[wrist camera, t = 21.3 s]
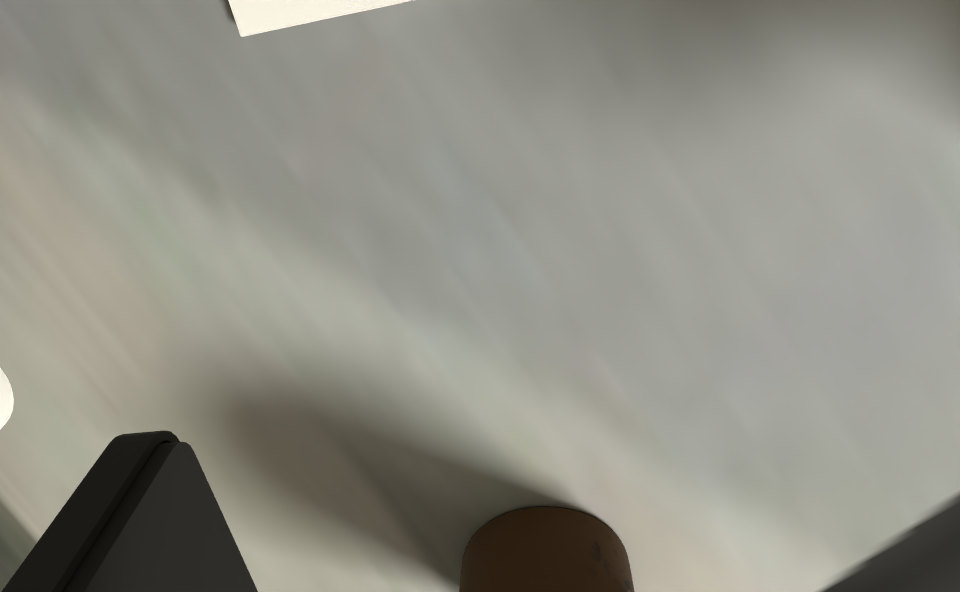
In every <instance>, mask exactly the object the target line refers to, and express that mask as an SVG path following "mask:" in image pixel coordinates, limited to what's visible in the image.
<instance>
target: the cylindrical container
mask: <svg viewBox="0 0 960 592" xmlns="http://www.w3.org/2000/svg"><path fill="white" fill-rule="evenodd" d="M13 403H14V398H13V392H12V388H11V385H10V383H9V381H8V378H7V377H6V375H5V373H4V372H3V370H2V369H1V367H0V429H1V428H2V427H3V426H4V425H5V423H6V422H7V421H8V420H9V418H10V416H11V413H12V411H13Z"/></svg>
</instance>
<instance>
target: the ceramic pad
mask: <svg viewBox="0 0 960 592" xmlns="http://www.w3.org/2000/svg"><path fill="white" fill-rule="evenodd" d="M228 1H229V4H230V7H231V9H232V12H233V15H234V18H235V21H236V24H237V27H238V29H239V32H240V35H241V37H243V36H248V35H253V34H257V33H262V32H267V31H271V30H276V29H281V28H286V27H290V26H295V25H300V24H304V23H309V22H314V21H318V20H323V19H328V18H333V17H337V16H342V15H347V14H351V13H356V12H361V11H365V10H370V9H375V8H379V7H384V6H389V5H394V4H398V3H403V2H408V1H412V0H228Z"/></svg>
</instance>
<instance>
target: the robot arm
mask: <svg viewBox="0 0 960 592" xmlns="http://www.w3.org/2000/svg"><path fill="white" fill-rule="evenodd" d="M2 592H258V591H257V589H256V587H255V584H254V582H253V580H252V578H251V576H250V573H249V571H248V569H247V567H246V565H245V562H244V560H243V558H242V556H241V554H240V551H239V549H238V547H237V545H236V543H235V540H234V538H233V536H232V534H231V532H230V529H229V527H228V525H227V523H226V521H225V518H224V516H223V514H222V512H221V510H220V508H219V505H218V503H217V501H216V499H215V497H214V494H213V492H212V490H211V488H210V486H209V483H208V481H207V479H206V477H205V475H204V472H203V470H202V468H201V466H200V464H199V461H198V459H197V457H196V455H195V453H194V451H193V449H192V447H191V446H190V445H189V444H188V443H186V442H180V441H179V439H178V438H177V436H176V435H174V434H173V433H172V432H169V431H155V432H143V433H132V434H122V435H120V436H117V437H115V438H114V439H113V440H112V441H111V442H110V443H109V445H108V446H107V447H106V449H105V450H104V451H103V453H102V454H101V456H100V457H99V458H98V460H97V461H96V462H95V464H94V465H93V467H92V468H91V469H90V471H89V472H88V473H87V475H86V476H85V478H84V479H83V480H82V482H81V483H80V484H79V486H78V487H77V489H76V490H75V491H74V493H73V494H72V496H71V497H70V498H69V500H68V501H67V502H66V504H65V505H64V507H63V508H62V509H61V511H60V512H59V513H58V515H57V516H56V518H55V519H54V520H53V522H52V523H51V524H50V526H49V527H48V529H47V530H46V531H45V533H44V534H43V535H42V537H41V538H40V540H39V541H38V542H37V544H36V545H35V546H34V548H33V549H32V551H31V552H30V553H29V555H28V556H27V557H26V559H25V560H24V562H23V563H22V564H21V566H20V567H19V569H18V570H17V571H16V573H15V574H14V575H13V577H12V578H11V580H10V581H9V582H8V584H7V585H6V586H5V588H4V589H3V591H2Z"/></svg>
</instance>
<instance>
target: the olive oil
mask: <svg viewBox="0 0 960 592" xmlns="http://www.w3.org/2000/svg"><path fill="white" fill-rule="evenodd" d="M459 592H634V587H633V581H632V576H631V570H630V565H629V560H628V556H627V553H626V550H625V547H624V545H623V543H622V542H621V540H620V539H619V537H618V536H617V535H616V534H615V533H614V532H613V531H612V530H611V529H610V528H609V527H608V526H606V525H605V524H604V523H602V522H600V521H599V520H597V519H595V518H593V517H591V516H589V515H586V514H584V513H581V512H578V511H574V510H570V509H565V508H559V507H532V508H525V509H520V510H516V511H512V512H509V513H506V514H504V515H502V516H499V517H497V518H495V519H493V520H492V521H490V522H488V523H487V524H486V525H484V526H483V527H482V528H481V529H479V530H478V531H477V532H476V533H475V535H474V536H473V537H472V538H471V540H470V542H469V543H468V545H467V547H466V550H465V553H464V557H463V563H462V571H461V580H460V589H459Z"/></svg>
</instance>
